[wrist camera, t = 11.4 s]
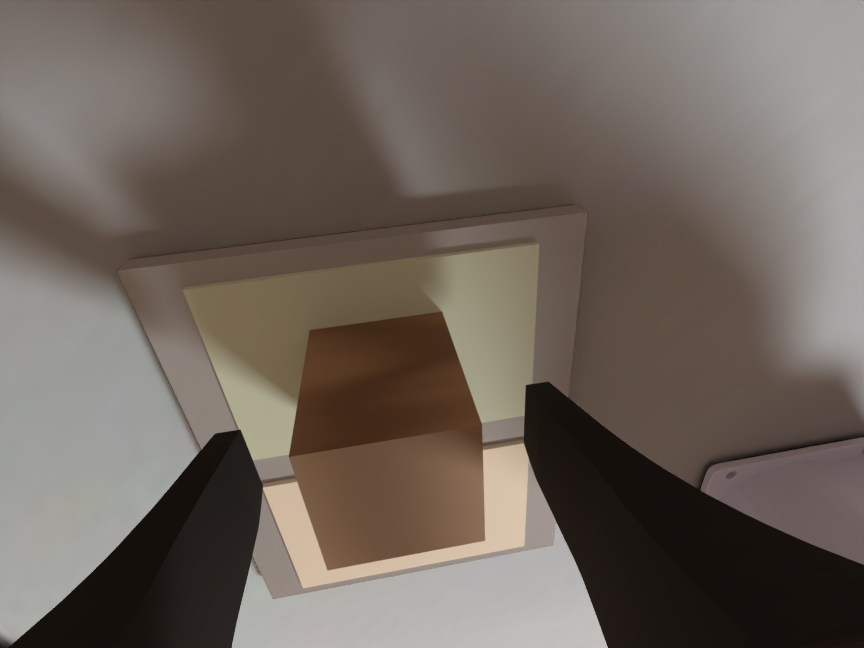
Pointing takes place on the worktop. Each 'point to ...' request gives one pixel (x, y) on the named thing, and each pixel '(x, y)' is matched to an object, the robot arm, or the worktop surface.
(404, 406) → the walnut block
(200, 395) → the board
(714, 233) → the worktop surface
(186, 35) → the worktop surface
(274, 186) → the worktop surface
